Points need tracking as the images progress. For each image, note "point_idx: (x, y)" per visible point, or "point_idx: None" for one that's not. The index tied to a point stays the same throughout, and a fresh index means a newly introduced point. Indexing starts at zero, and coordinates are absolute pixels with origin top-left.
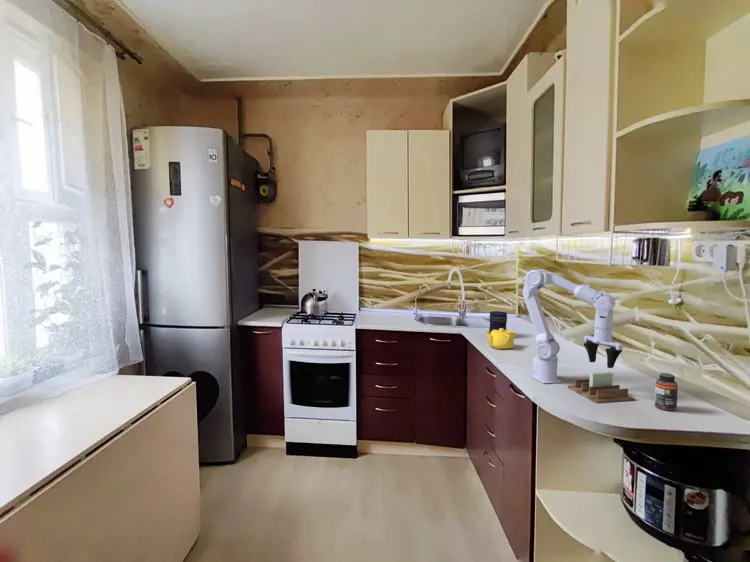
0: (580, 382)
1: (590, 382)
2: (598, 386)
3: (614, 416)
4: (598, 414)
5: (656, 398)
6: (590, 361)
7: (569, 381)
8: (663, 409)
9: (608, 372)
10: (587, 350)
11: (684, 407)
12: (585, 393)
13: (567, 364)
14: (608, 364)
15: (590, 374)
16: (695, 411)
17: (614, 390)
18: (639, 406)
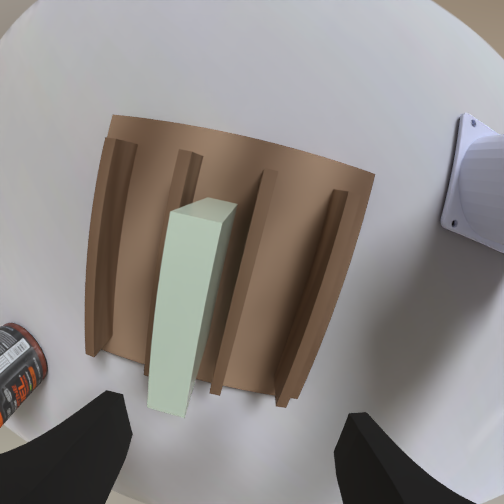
0: (330, 232)
1: (219, 208)
2: (165, 226)
3: (17, 84)
4: (51, 36)
5: (4, 343)
6: (357, 417)
7: (431, 289)
8: (7, 323)
9: (166, 393)
10: (443, 499)
11: (33, 402)
12: (223, 152)
13: (494, 428)
14: (87, 409)
15: (215, 219)
16: None
17: (88, 266)
18: (40, 285)
